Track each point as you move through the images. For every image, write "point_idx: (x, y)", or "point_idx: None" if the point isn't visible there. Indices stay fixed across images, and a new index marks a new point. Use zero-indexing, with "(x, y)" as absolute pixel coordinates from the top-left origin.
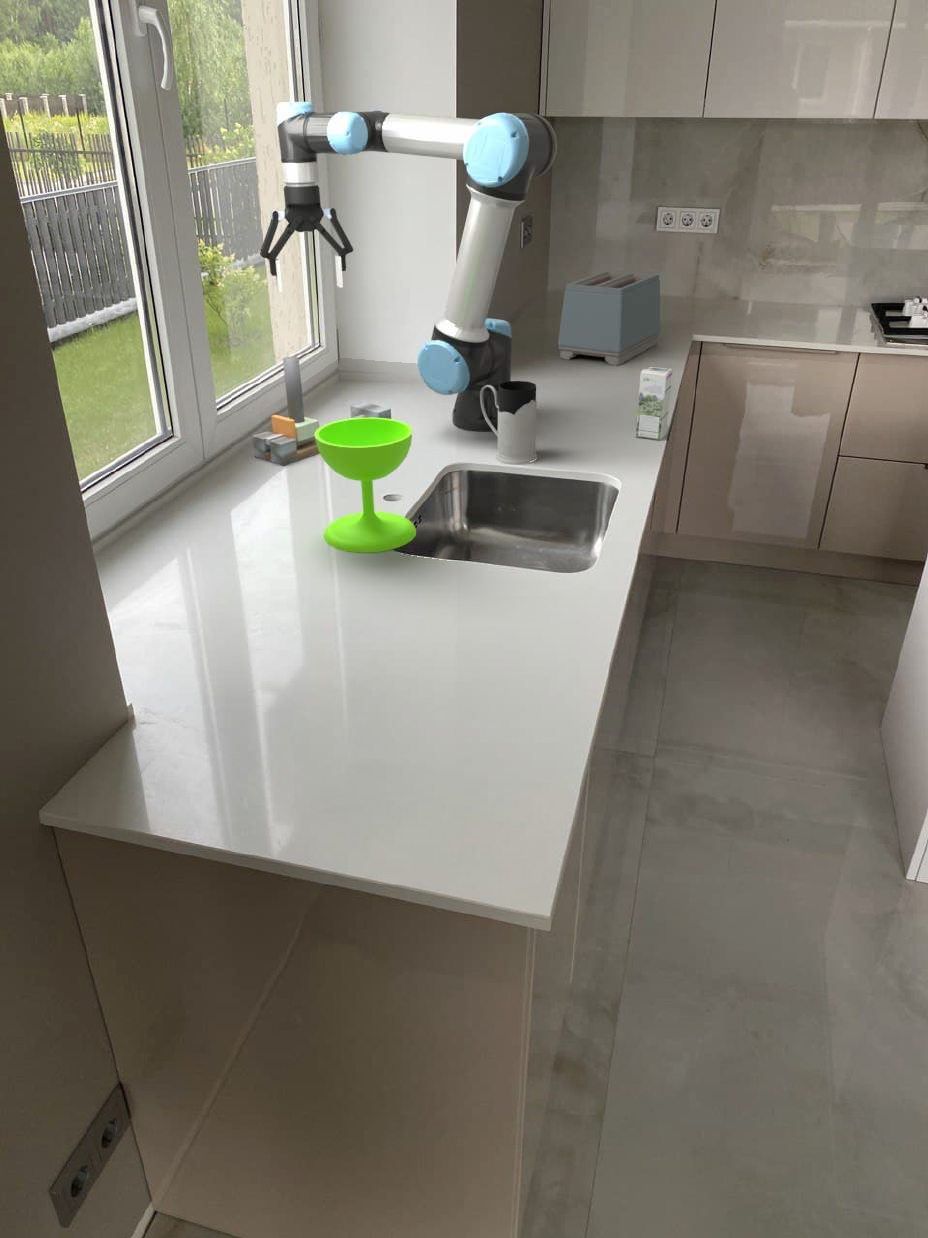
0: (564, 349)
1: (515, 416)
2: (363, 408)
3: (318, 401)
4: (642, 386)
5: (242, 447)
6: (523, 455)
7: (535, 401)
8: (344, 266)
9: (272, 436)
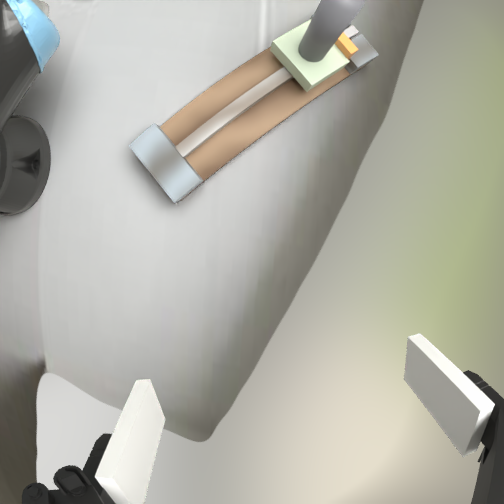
0: None
1: None
2: (177, 156)
3: (253, 335)
4: None
5: (385, 111)
6: None
7: None
8: (100, 447)
9: (348, 35)
